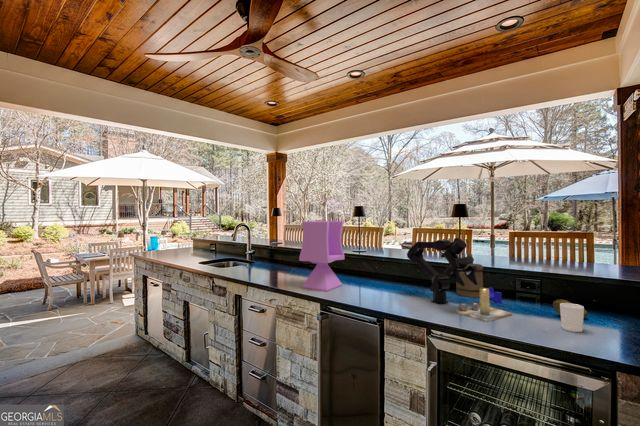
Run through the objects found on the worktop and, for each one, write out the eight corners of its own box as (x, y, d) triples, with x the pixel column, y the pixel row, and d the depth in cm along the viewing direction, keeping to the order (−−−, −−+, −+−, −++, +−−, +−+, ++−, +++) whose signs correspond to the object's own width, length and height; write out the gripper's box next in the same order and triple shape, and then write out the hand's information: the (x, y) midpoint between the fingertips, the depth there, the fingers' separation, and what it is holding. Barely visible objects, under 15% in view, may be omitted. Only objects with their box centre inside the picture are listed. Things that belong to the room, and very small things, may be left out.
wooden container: (484, 293, 193) (483, 257, 193) (481, 298, 180) (481, 260, 180) (458, 290, 201) (458, 256, 201) (454, 295, 188) (453, 259, 188)
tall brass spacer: (478, 313, 148) (477, 287, 148) (486, 312, 149) (485, 287, 149) (483, 315, 144) (482, 289, 144) (491, 315, 145) (491, 289, 145)
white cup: (555, 326, 135) (555, 303, 135) (572, 325, 135) (571, 302, 135) (571, 333, 127) (571, 308, 127) (589, 332, 127) (589, 307, 128)
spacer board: (455, 312, 155) (455, 310, 155) (481, 306, 164) (481, 304, 164) (486, 322, 140) (486, 319, 140) (512, 315, 150) (512, 313, 150)
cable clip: (484, 297, 183) (484, 287, 183) (492, 298, 182) (492, 287, 182) (492, 303, 171) (492, 292, 171) (501, 303, 170) (501, 292, 170)
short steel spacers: (458, 310, 155) (458, 303, 155) (481, 305, 163) (481, 298, 163) (473, 314, 148) (473, 307, 148) (496, 309, 156) (496, 302, 156)
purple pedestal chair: (327, 292, 197) (327, 221, 197) (299, 288, 209) (299, 221, 210) (344, 285, 216) (344, 221, 216) (317, 282, 228) (317, 220, 228)
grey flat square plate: (471, 314, 148) (471, 313, 148) (482, 312, 152) (482, 310, 152) (487, 319, 141) (487, 318, 141) (498, 316, 145) (498, 315, 145)
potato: (589, 322, 139) (588, 304, 139) (553, 317, 147) (552, 300, 147) (587, 317, 146) (587, 300, 146) (552, 312, 153) (552, 296, 153)
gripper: (450, 250, 155) (468, 277, 145) (475, 250, 163) (494, 275, 153) (437, 263, 162) (453, 289, 152) (461, 262, 170) (478, 287, 161)
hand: (470, 285), depth 154 cm, fingers open, 9 cm apart
